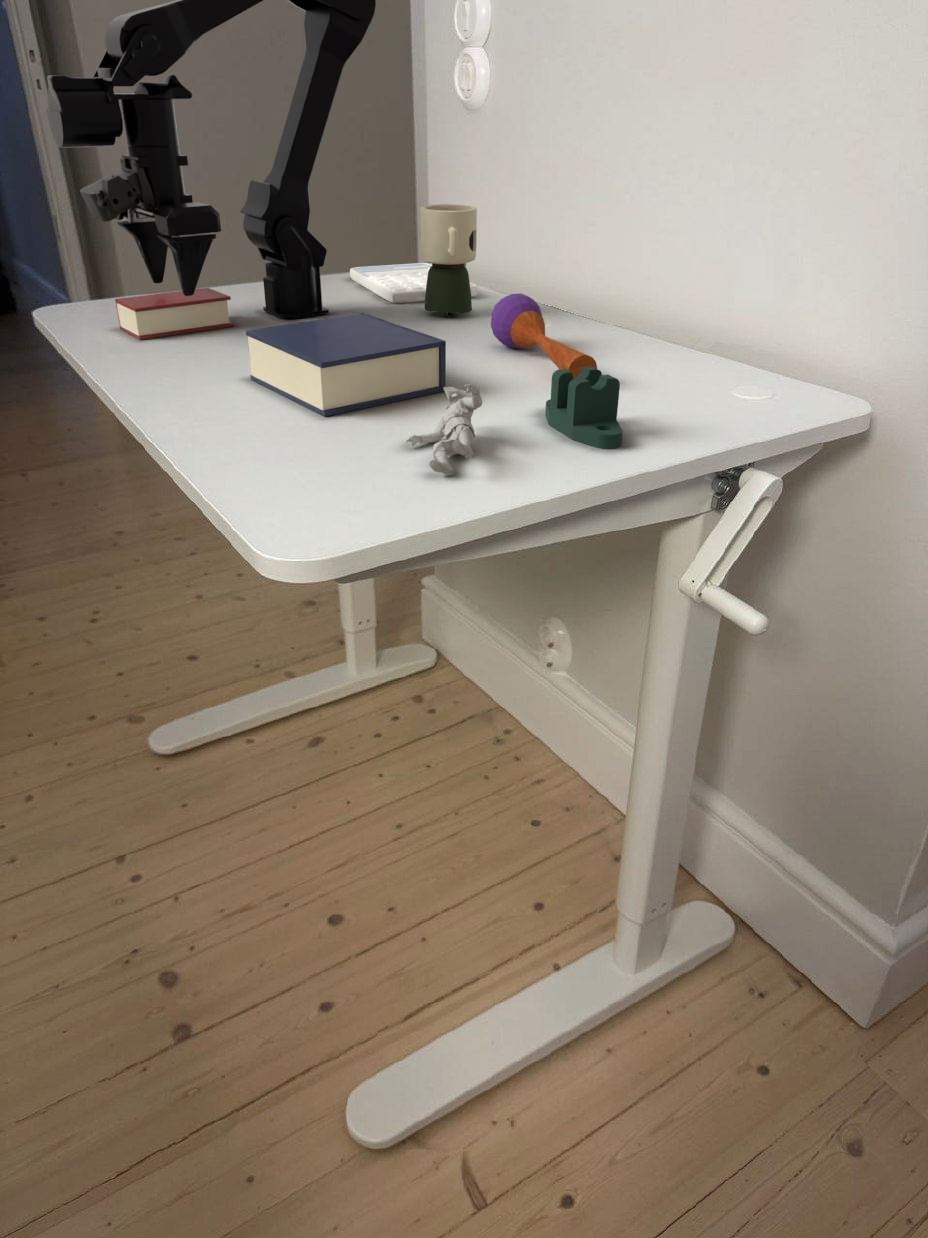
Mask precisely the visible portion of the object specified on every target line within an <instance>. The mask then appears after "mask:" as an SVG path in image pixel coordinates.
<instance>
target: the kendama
mask: <svg viewBox="0 0 928 1238" xmlns="http://www.w3.org/2000/svg"><path fill="white" fill-rule="evenodd" d="M490 317H491V318H490V328H491V331H492V335H493V336H494V338H496V339H497V340H498V342H500V343H501V344H502V345H503V346H506V347H508V348H511V349H518V348H520V349H530V348H533V347H536V346H539V347H540V349H541V350H542V351H543V352H544V353H545V354H546V355H547V357H548V358H549V359H550V360H551V361H552V363H553V364H554V365H555V366H556V368H557V370H560V369H567V370H569V371H571V372H572V375H573V378H574V377H577V376H578V375H579V374H580V373H581V371H582V369H583V367H586V366H592V367H594V368H596V369H598V365H597V361H596V360H595V359H594V358H593V356H591V355H588V354H586V353H584V352H582V351H580V350H578V349H575V348H573V347H571V346H569V345H566V344H564V343H562V342H560V341H557V340H555V339H553V338H551V337H549V336H547V335H546V323H545V319H544V318H543V313H542V311H541V307H540V305H539V304H538V303H537V302H536V301H535V299H533V298H532V297H531V296H529V295H526V294H523V293H511V294H508V295H506V296H504V297H502V298H500V299H499V300H498V302H497V303H496V304H494V306H493V309H492V311H491V315H490Z"/></svg>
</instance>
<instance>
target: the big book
mask: <svg viewBox="0 0 928 1238" xmlns="http://www.w3.org/2000/svg"><path fill="white" fill-rule="evenodd" d="M245 336H246V337H247V342H248V344H247V345H248V353H249V363H250V372H251V374H250V380H251V381H253V382H255V383H257V384H259V385H261V386H263V387H265V388H267V389H269V390H271V391H273V392H275V393H277V394H279V395H281V396H283V397H285V398H286V399H289V400H291V401H293V402H295V403H297V404H299V405H300V406H302V407H305V408H307V409H309V410H311V411H313V412H315V413H317V414H319V415H320V416H323V417H331V416H335V415H340V414H343V413H349V412H355V411H359V410H363V409H367V408H373V407H376V406H377V407H378V406H382V405H386V404H387V405H388V404H391V403H396V402H401V401H406V400H409V399H415V398H419V397H424V396H428V395H434V394H438V393H443V392H445V391H444V387H447V385H446V384H447V383H446V381H447V379H446V378H447V377H446V375H447V374H446V373H447V371H446V369H447V368H446V367H447V366H446V365H447V364H446V363H447V362H446V361H447V359H446V358H447V357H446V355H447V351H446V350H447V347H446V346H447V340H445V339H441V338H438V337H435V336H433V335H430V334H426V333H424V332H420V331H417V330H415V329H412V328H409V327H406V326H403V325H400V324H397V323H394V322H391V321H388V320H385V319H383V318H379V317H376V316H374V315H370V314H368V313H365V312H360V313H353V314H347V315H346V314H345V315H340V316H333V317H326V318H320V319H313V320H307V321H306V320H305V321H299V322H294V323H287V324H279V325H274V326H267V327H260V328H254V329H247V330H245Z"/></svg>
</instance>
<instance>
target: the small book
mask: <svg viewBox="0 0 928 1238" xmlns="http://www.w3.org/2000/svg"><path fill="white" fill-rule="evenodd" d="M114 300H115V307H116V313H117V318H118V324H119V330H121V331H122V332H124V333H126V334H128V335H130V336H132V337H133V338H135V339H138V340H140V341H143V340H150V339H157V338H162V337H169V336H170V337H171V336H176V335H183V334H190V333H198V332H203V331H204V332H205V331H210V330H211V331H212V330H219V329H225V328H232V327H234V322H232V321H230V315H229V314H230V313H229V306H228V305H229V304H228V301H230V300H232V297H231V296H230V295H228V294H225V293H222V292H220V291H217V290H214V289H212V288H210V287H204V288H196V289H195V292H194V294H193V295H192V296H185V295H184V294H183V291H182V290H179V291H172V292H171V291H170V292H163V293H154V294H145V295H138V296H129V297H120V298H115V299H114Z"/></svg>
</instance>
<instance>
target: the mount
mask: <svg viewBox="0 0 928 1238" xmlns="http://www.w3.org/2000/svg"><path fill="white" fill-rule="evenodd" d="M550 387H551V388H550V399H547V400H546V401H545V413H544V414H545V419H546V422H547V424H548V425H549V427H552V428H553V429H555V430H556V431H558V432H559V433H561V434H562V435H564V436H566V437H568V438H569V439H570V440H574V441H576V442H579V443H583V444H585V445H589V446H592V447H595V448H598V449H604V450H605V449H607V450H609V449H617V448H621V446H622V443H623V433H624V430H623V428H622V426H621V425H620V423H619V422H618V420H617V419H618V418H617V417H618V411H619V410H618V409H619V400H620V399H619V398H620V388H621V382H620V380H619V379H618V378H616V377H614V376H612V375H610V374H603V373H602V371H601V369H598V368H597V369H596V368H594V367H592V366H586V367H583V369H582V371H581V373H580V374H579V375H578V376H577V377H574V378H573V375H572V372H571V371H569V370H567V369H560V370H559V369H556V370H555V371H554V372H553V373H552V375H551V386H550Z"/></svg>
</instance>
